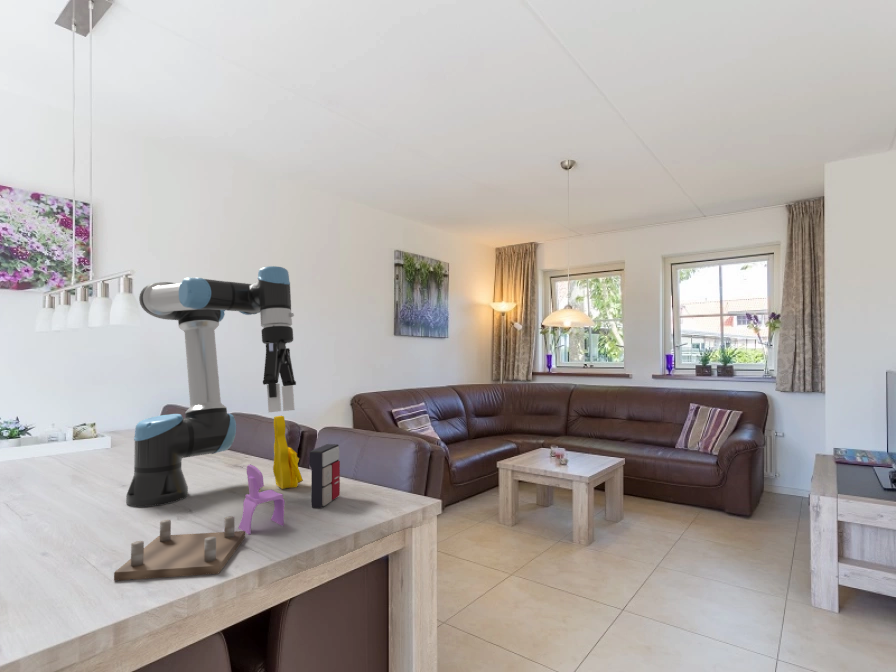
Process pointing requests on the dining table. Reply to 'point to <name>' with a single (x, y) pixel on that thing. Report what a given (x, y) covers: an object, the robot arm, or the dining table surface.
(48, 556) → the dining table surface
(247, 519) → the toy chair
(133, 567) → the peg stand
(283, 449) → the figure statuette
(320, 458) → the grey and red block
